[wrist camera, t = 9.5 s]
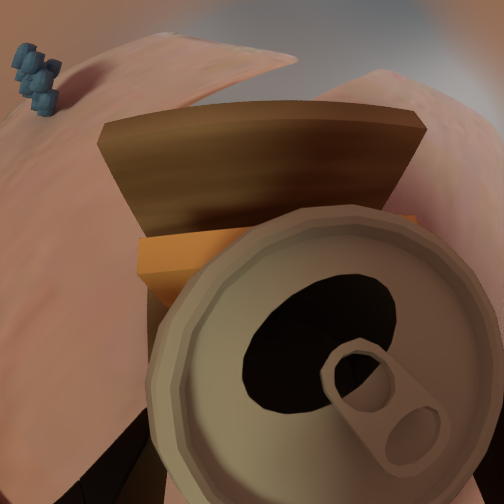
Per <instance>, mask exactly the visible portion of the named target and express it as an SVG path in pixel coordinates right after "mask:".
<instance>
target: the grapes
mask: <svg viewBox="0 0 504 504" xmlns="http://www.w3.org/2000/svg"><path fill="white" fill-rule="evenodd" d="M36 48H37V46H35V45H33V44H30V43H24V44H22V45H20V46H19V47H18V49H17V51H16V54H15V56H14V59H13V62H12V67H13V68H16V69H18V70H17V73H16V77H15V80H16V81H20V82H21V86H20V90H19V93H20V94H23V97H26V98H32V105H31V110H34V111H37V115H39V116H43V117H47V116H51V115H52V114H53V113H54V110H55V108H56V103H57V100H58V94H59V91H57V90H53V89H52V86H53V81H54V80H53V79H55V78H56V77H57V76H58V74H59V72H60V69H61V65H62V62H60V61H58V60H55V59H49V60H48V61H47V62H44V58H45V54H43V53H41V52H37V51H36Z"/></svg>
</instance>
